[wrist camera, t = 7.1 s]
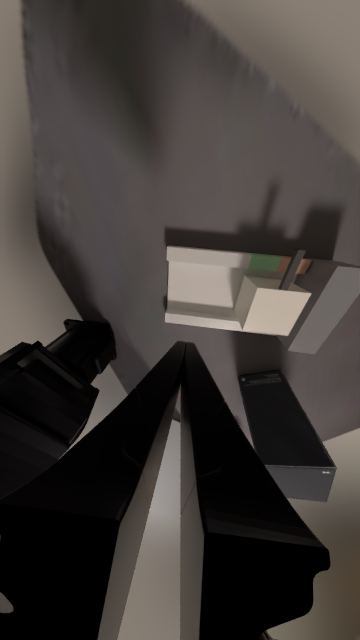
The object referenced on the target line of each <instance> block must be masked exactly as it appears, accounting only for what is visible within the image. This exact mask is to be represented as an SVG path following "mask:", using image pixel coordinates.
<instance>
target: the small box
mask: <svg viewBox="0 0 360 640" xmlns="http://www.w3.org/2000/svg"><path fill="white" fill-rule="evenodd" d="M238 380H239V385H240V391H241V395H242V400H243V404H244V409H245V413H246V417H247V421H248V425H249V429H250V433H251V438H252V441H253V445H254V449H255V451H256V453H257V454H258V456H259V457H260V459H261V460H262V462H263V464H264V465H265V467H266V468H267V470H268V471H269V473H270V474H271V476H272V477H273V479H274V480H275V482H276V483H277V485H278V486H279V488H280V489H281V491H282V492H283V494H284V495H285V497H286V498H293V499H302V500H312V501H320V502H327V500H328V496H329V492H330V489H331V486H332V483H333V479H334V476H335V472H336V469H337V468H336V466H335V464H334V462H333V460H332V459H331V457H330V455H329V454H328V452H327V450H326V448H325V446H324V445H323V443H322V441H321V439H320V438H319V436H318V434H317V433H316V431H315V429H314V427H313V425H312V424H311V422H310V420H309V419H308V417H307V415H306V413H305V411H304V410H303V409H302V407H301V405H300V403H299V401H298V400H297V398H296V396H295V394H294V392H293V391H292V389H291V387H290V385H289V383H288V381H287V380H286V378H285V376H284V374H283V372H282V371H281V370H279V371H272V372H266V373H259V374H251V375H244V376H239V377H238Z"/></svg>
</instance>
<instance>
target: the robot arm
mask: <svg viewBox="0 0 360 640" xmlns="http://www.w3.org/2000/svg"><path fill="white" fill-rule="evenodd" d="M64 325H65V328H66V330H67V331H66V332H65V333H63V334H62V335H61V336H59V337H58V338H57V339H55V340H54V341H53V342H51V343H50V344H49V345H47V346H46V347H44V346H42V343H41V342H39V341H37V342H35V343H34V344H32V345H31V344H28V343H24V342H21V343H20V344H18V345H17V346H15V347H13V348H12V349H10V350H8V351H7V352H5V353H3V354H2V355H0V640H117V638H118V633H119V629H120V625H121V621H122V617H123V613H124V609H125V605H126V601H127V597H128V593H129V589H130V585H131V581H132V577H133V573H134V569H135V565H136V561H137V557H138V553H139V549H140V545H141V541H142V537H143V533H144V529H145V525H146V521H147V517H148V513H149V509H150V505H151V501H152V497H153V493H154V489H155V485H156V481H157V477H158V473H159V469H160V465H161V461H162V457H163V453H164V449H165V445H166V441H167V437H168V433H169V429H170V425H171V421H172V417H173V413H174V409H175V405H176V401H177V397H178V393H179V389H180V385H181V578H180V579H181V580H180V583H181V584H180V585H181V587H180V589H181V590H180V591H181V592H180V598H181V599H180V606H181V608H180V611H181V612H180V617H181V618H180V622H181V624H180V626H181V627H180V630H181V631H180V640H277V639H273V638H271V637H270V636H269V634H268V633H267V631H266V630H268V629H269V628H272V627H275V626H277V625H280V624H283V623H286V622H288V621H291V620H294V619H296V618H299V617H302V616H304V615H306V614H307V613H308V612H309V611H310V610H311V608H312V605H313V578H314V577H315V575H316V574H317V573H319V572H320V571H324V570H328V569H329V568H330V556H329V550H328V549H327V548H326V547H325V546H324V545H323V544H322V543H321V542H320V540H319V539H318V538H317V537H316V536H315V535H314V534H313V532H312V531H311V530H310V529H309V528H308V527H307V525H306V524H305V523H304V521H303V520H302V519H301V518H300V516H299V515H298V514H297V512H296V511H295V510H294V508H293V507H292V506H291V504H290V503H289V501H288V500H287V498H286V497H285V495H284V494H283V492H282V491H281V489H280V488H279V486H278V485H277V483H276V482H275V480H274V479H273V477H272V476H271V474H270V473H269V471H268V470H267V468H266V467H265V465H264V464H263V462H262V460H261V459H260V457H259V456H258V454H257V453H256V451H255V450H254V448H253V447H252V445H251V444H250V442H249V441H248V439H247V438H246V436H245V434H244V433H243V431H242V430H241V428H240V427H239V425H238V423H237V421H236V420H235V418H234V416H233V414H232V413H231V411H230V409H229V407H228V405H227V403H226V402H224V401H225V400H224V398H223V396H222V394H221V392H220V390H219V388H218V387H217V385H216V383H215V381H214V379H213V377H212V375H211V374H210V372H209V370H208V368H207V366H206V364H205V362H204V360H203V359H202V357H201V355H200V353H199V351H198V349H197V347H196V346H195V344H194V343H192V342H184V341H177V342H176V343H175V344H174V345H173V347H172V348H171V349H170V350H169V351H168V352H167V353H166V354H165V355H164V356H163V358H162V359H161V360H160V361H159V362H158V363H157V364H156V365H155V366H154V367H153V368H152V370H151V371H150V372H149V373H148V374H147V375H146V376H145V377H144V378H143V379H142V380H141V382H140V383H139V384H138V385H137V386H136V388H134V389H133V390H132V391H131V392H130V393H129V395H128V396H127V397H126V398H125V399H124V400H123V401H122V402H121V403H120V404H119V405H118V406H117V407H116V408H115V409H114V410H113V411H112V412H111V413H110V414H109V415H107V416H106V417H105V418H104V419H103V420H102V421H101V422H100V423H99V424H98V425H96V426H95V427H94V428H93V429H92V430H91V431H90V432H89V433H88V434H86V435H85V436H84V437H83V438H82V439H81V440H80V441H79V442H77V444H75V445H74V446H73V447H72V448H71V449H70V450H69V451H67V450H68V449H69V448H70V446H71V445H72V444H73V443H74V442H75V441H76V439H77V438H78V437H79V435H80V434H81V433H82V431H83V429H84V428H85V425H86V424H87V421H88V419H89V416H90V413H91V411H92V408H93V406H94V403H95V401H96V398H97V396H98V393H99V390H98V389H97V388H95V387H93V386H92V385H91V383H92V381H93V380H94V379H95V377H96V376H97V374H101V373H102V372H103V371H104V369H105V368H106V366H107V365H108V364H109V362H110V361H111V360H115V359H116V357H117V356H116V348H115V343H114V339H113V336H112V331H111V327H110V325H108V324H104V323H96V322H88V321H80V320H71V319H66V320H65V321H64ZM106 327H107V328H106ZM185 345H186V346H185ZM184 353H185V354H184ZM183 361H184V362H183ZM182 369H183V370H182ZM181 377H182V378H181ZM66 451H67V452H66ZM65 452H66V453H65ZM64 453H65V454H64ZM63 454H64V455H63ZM62 455H63V456H62ZM61 456H62V457H61ZM60 457H61V458H60ZM59 458H60V459H59Z"/></svg>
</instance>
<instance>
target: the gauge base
mask: <svg viewBox="0 0 360 640" xmlns="http://www.w3.org/2000/svg"><path fill="white" fill-rule="evenodd" d="M291 258H292V257H290V256H279V255H268V254H258V253H247V252H236V251H225V250H215V249H204V248H193V247H183V246H172V245H170V246H167V261H169V274H168V303H167V310H166V313H165V322H169V323H177V324H185V325H193V326H202V327H210V328H218V329H226V330H234V331H243V332H251V333H259V334H267V335H275V336H277V337H278V339H279V340H280V341H281V343H282V344H283V345H284V347H285V348H286V349H287V351H294V352H302V353H310V354H315V353H316V352H317V351H318V349H319V348H320V347H321V345H322V344H323V342H324V341H325V340H326V338H327V337H328V336H329V334H330V333H331V332H332V330H333V329H334V327H335V326H336V325H337V323H338V322H339V321H340V319H341V318H342V317H343V315H344V314H345V312H346V311H347V310H348V308H349V307H350V306H351V304H352V303H353V302H354V300H355V299H356V297H357V296H358V295H359V293H360V266H356V265H352V264H347V263H342V262H337V261H333V260H322V259H311V258H302V260H301V263H300V265H299V267H298V269H297V271H296V273H295V275H294V278H293V280H292V282H291V283H293V284H295V285H297V286H299V287H301V288H303V289H304V290H306V291H308V292H310V293H312V294H311V295H310V297H309V299H308V301H307V303H306V304H305V306H304V308H303V310H302V312H301V313H300V315H299V317H298V319H297V321H296V322H295V324H294V326H293V328H292V329H291V331H290V333H289V335H288V336H285V335H277V334H269V333H261V332H252V331H244V330H242V328H241V326H240V324H239V321H238V319H237V317H236V315H235V312H234V308H235V304H236V301H237V297H238V294H239V291H240V287H241V284H242V280H243V277H244V275H249V276H259V277H269V278H279V279H283V276H284V274H285V272H286V269H287V267H288V265H289V262H290V260H291Z"/></svg>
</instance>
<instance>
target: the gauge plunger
mask: <svg viewBox="0 0 360 640" xmlns="http://www.w3.org/2000/svg"><path fill="white" fill-rule="evenodd" d="M305 252H306V251H305V250H297V249H295V251H294V253H293V255H292V258H291V260H290V262H289V265H288V267H287V269H286V272H285V274H284V276H283V279H279V278H269V277H259V276H249V275H244V277H243V280H242V284H241V287H240V291H239V294H238V297H237V301H236V304H235V308H234V312H235V315H236V317H237V319H238V321H239V324H240V326H241V328H242V330H244V331H252V332H261V333H269V334H277V335H285V336H288V335H289V333H290V331H291V329H292V328H293V326H294V324H295V322H296V321H297V319H298V317H299V315H300V313H301V312H302V310H303V308H304V306H305V304H306V303H307V301H308V299H309V297H310V295H311V294H312V293H310V292H308V291H306V290H304V289H303V288H301V287H299V286H297V285H295V284H293V283H291V282H292V280H293V278H294V275H295V273H296V271H297V269H298V267H299V265H300V263H301V260H302V258H303V256H304V254H305Z"/></svg>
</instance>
